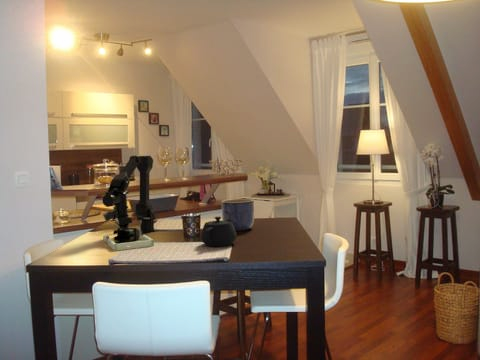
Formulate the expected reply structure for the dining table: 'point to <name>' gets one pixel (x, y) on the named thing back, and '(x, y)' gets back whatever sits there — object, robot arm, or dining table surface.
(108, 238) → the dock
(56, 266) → the dining table surface
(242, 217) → the planter
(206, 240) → the teapot
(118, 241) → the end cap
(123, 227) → the robot arm
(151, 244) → the tray
